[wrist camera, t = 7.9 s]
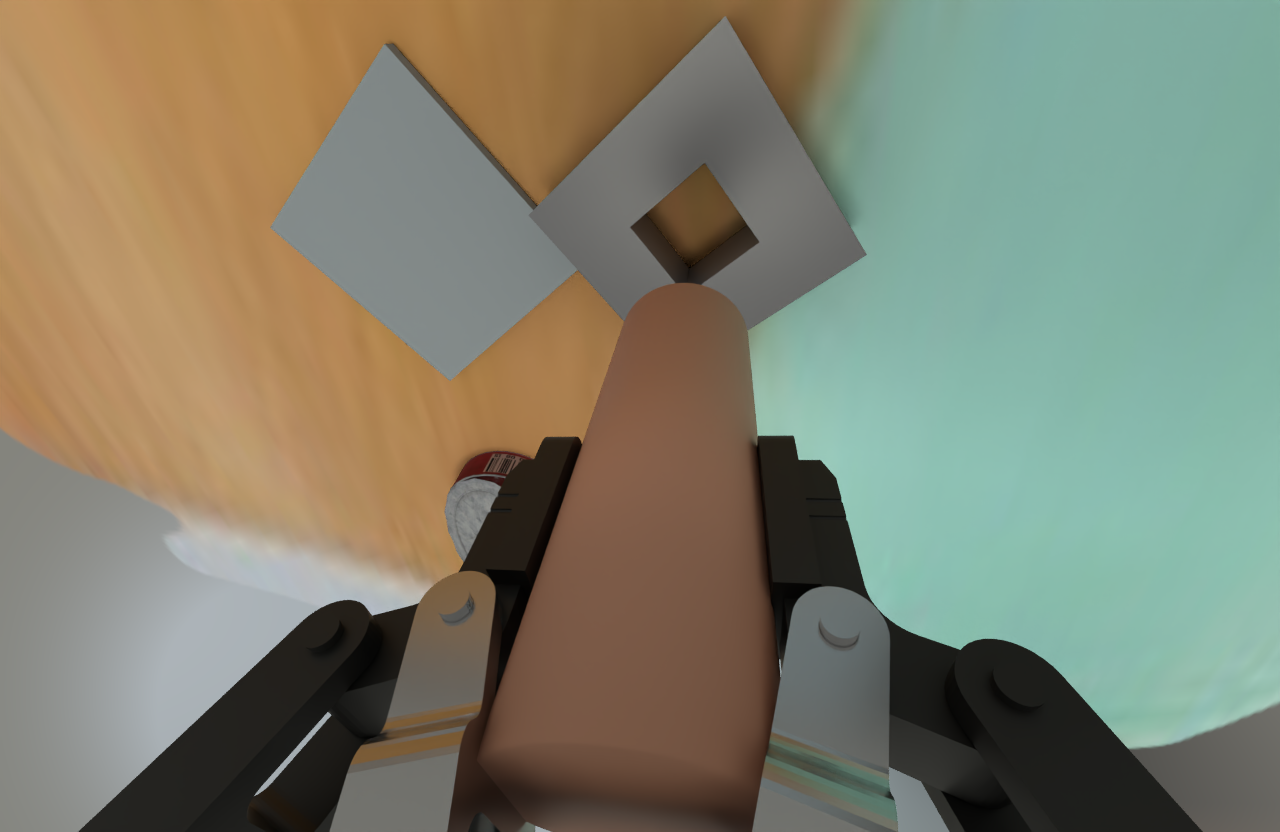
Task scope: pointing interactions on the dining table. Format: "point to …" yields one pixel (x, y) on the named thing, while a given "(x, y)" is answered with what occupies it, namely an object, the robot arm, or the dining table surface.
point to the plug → (650, 598)
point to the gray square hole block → (743, 166)
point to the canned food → (476, 495)
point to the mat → (420, 221)
